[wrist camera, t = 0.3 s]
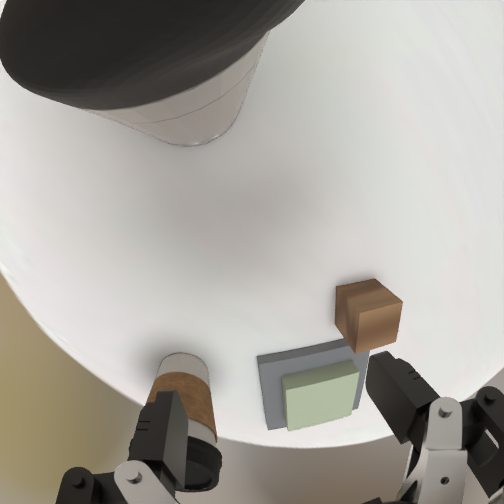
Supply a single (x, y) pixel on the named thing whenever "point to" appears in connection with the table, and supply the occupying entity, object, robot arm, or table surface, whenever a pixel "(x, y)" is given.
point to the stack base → (300, 364)
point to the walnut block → (367, 315)
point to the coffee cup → (193, 418)
